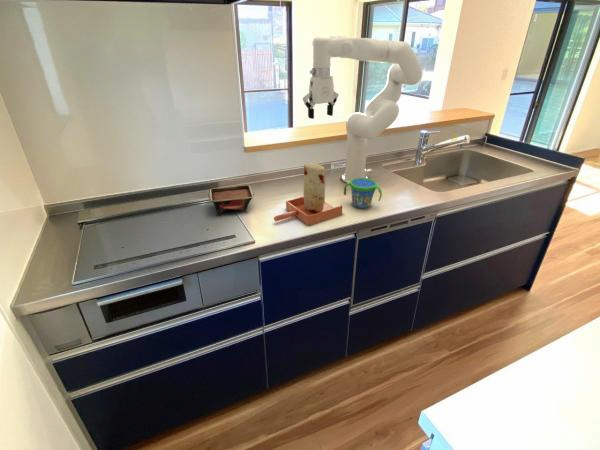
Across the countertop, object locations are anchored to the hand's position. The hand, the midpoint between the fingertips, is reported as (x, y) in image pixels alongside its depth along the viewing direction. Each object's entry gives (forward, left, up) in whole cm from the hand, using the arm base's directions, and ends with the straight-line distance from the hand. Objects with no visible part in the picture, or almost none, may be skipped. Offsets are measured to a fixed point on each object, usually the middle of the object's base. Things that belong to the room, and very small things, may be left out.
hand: (320, 116), depth 145 cm
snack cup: (-4, +25, -32) cm, 41 cm away
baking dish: (+42, -3, -32) cm, 53 cm away
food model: (+16, +19, -32) cm, 41 cm away
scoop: (+21, +19, -32) cm, 43 cm away
